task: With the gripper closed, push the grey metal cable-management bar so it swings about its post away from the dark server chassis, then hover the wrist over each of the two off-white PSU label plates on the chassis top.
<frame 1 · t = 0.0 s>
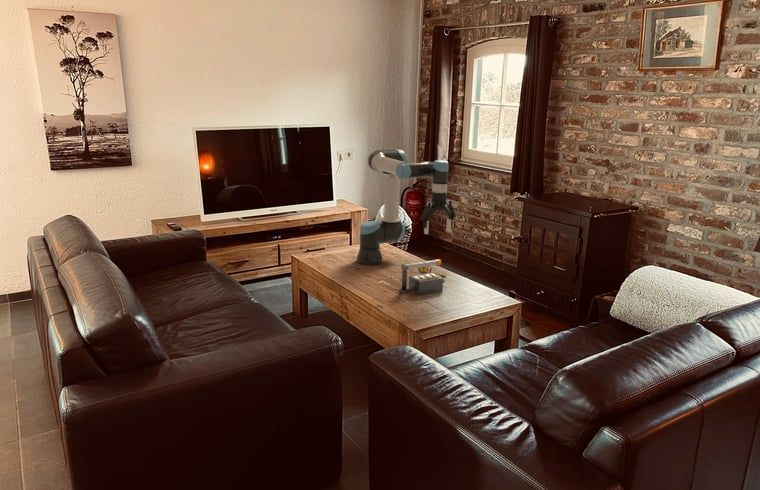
hand: (437, 232, 299), 28 cm above the table, fingers open, 13 cm apart
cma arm: (421, 264, 295), point 13 cm above the table, hinge at 0.0°
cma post: (403, 291, 295), on the table
figurine: (431, 277, 317), on the table
server chassis: (425, 290, 297), on the table
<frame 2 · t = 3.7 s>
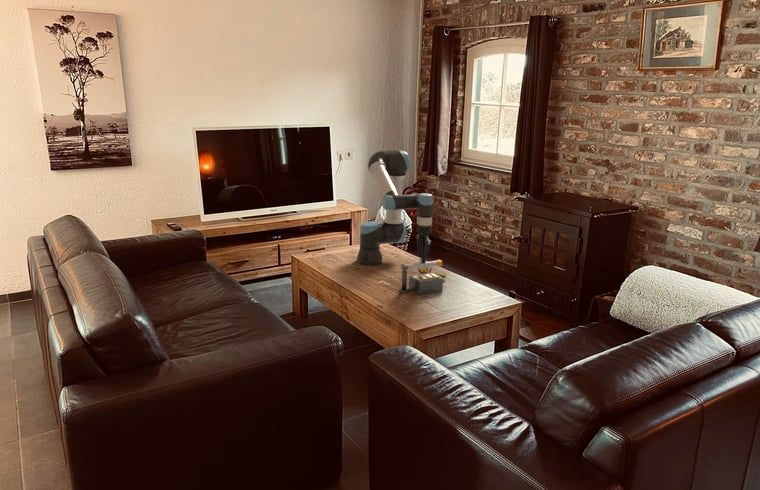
hand: (422, 269, 299), 10 cm above the table, fingers closed
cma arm: (421, 264, 295), point 13 cm above the table, hinge at -3.8°, touching gripper
everything else where it was.
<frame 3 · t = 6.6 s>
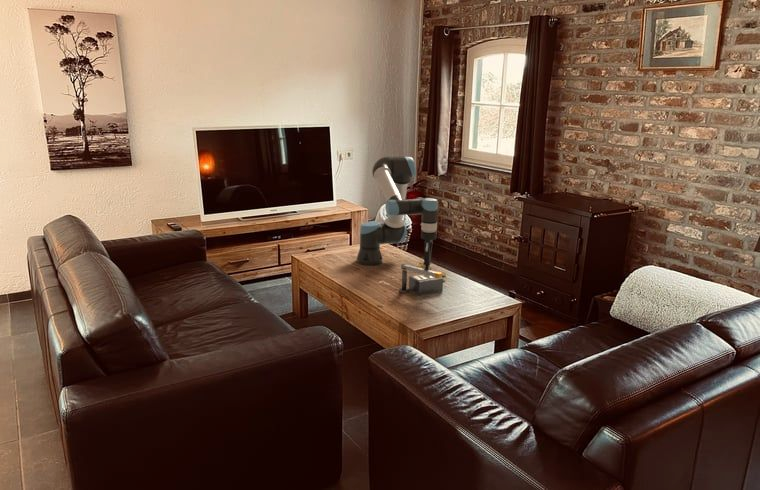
hand: (426, 276, 288), 9 cm above the table, fingers closed
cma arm: (420, 270, 286), point 13 cm above the table, hinge at -64.9°, touching gripper
everything else where it was.
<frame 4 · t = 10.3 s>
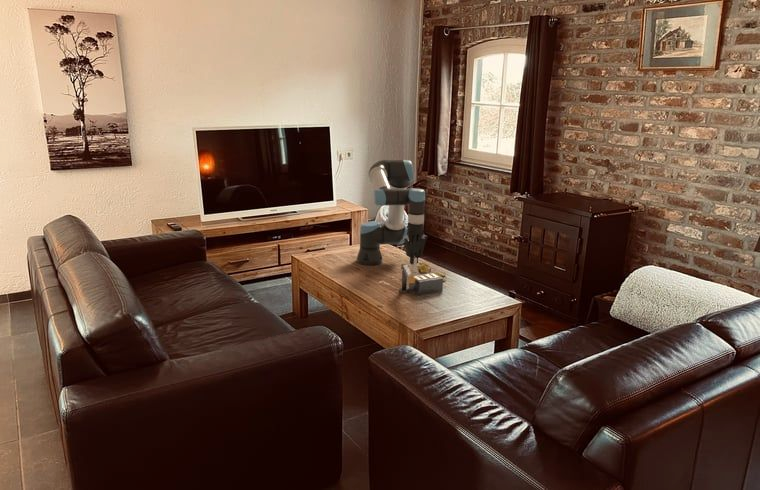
hand: (413, 270, 278), 15 cm above the table, fingers closed
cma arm: (408, 272, 282), point 13 cm above the table, hinge at -110.7°
everything else where it was.
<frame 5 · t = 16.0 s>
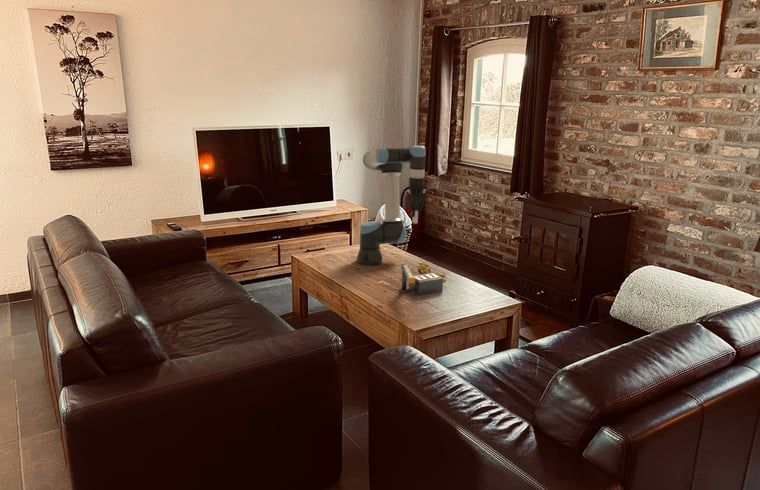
hand: (414, 222, 299), 32 cm above the table, fingers closed
nothing on the table moved.
at the end: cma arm at -111° (first picture: +0°) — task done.
